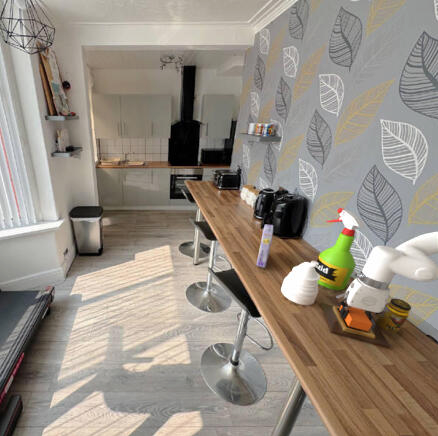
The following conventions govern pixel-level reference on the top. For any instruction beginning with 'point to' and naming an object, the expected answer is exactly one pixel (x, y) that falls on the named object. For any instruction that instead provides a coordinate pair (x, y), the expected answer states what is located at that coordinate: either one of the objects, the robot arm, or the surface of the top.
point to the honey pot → (302, 284)
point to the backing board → (341, 327)
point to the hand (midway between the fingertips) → (353, 318)
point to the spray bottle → (339, 254)
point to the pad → (357, 319)
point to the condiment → (394, 315)
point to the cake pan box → (265, 246)
